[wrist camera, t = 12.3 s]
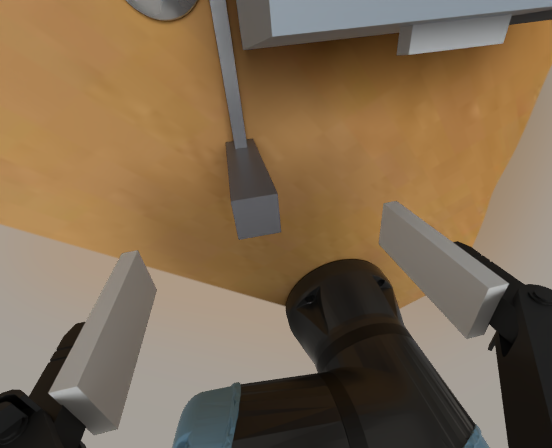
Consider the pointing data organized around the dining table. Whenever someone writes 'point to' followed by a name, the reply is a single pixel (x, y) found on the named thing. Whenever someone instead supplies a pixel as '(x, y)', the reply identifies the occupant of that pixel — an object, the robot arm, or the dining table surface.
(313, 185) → the dining table surface
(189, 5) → the steel token
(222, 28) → the l-shaped tool
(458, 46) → the cabinet
